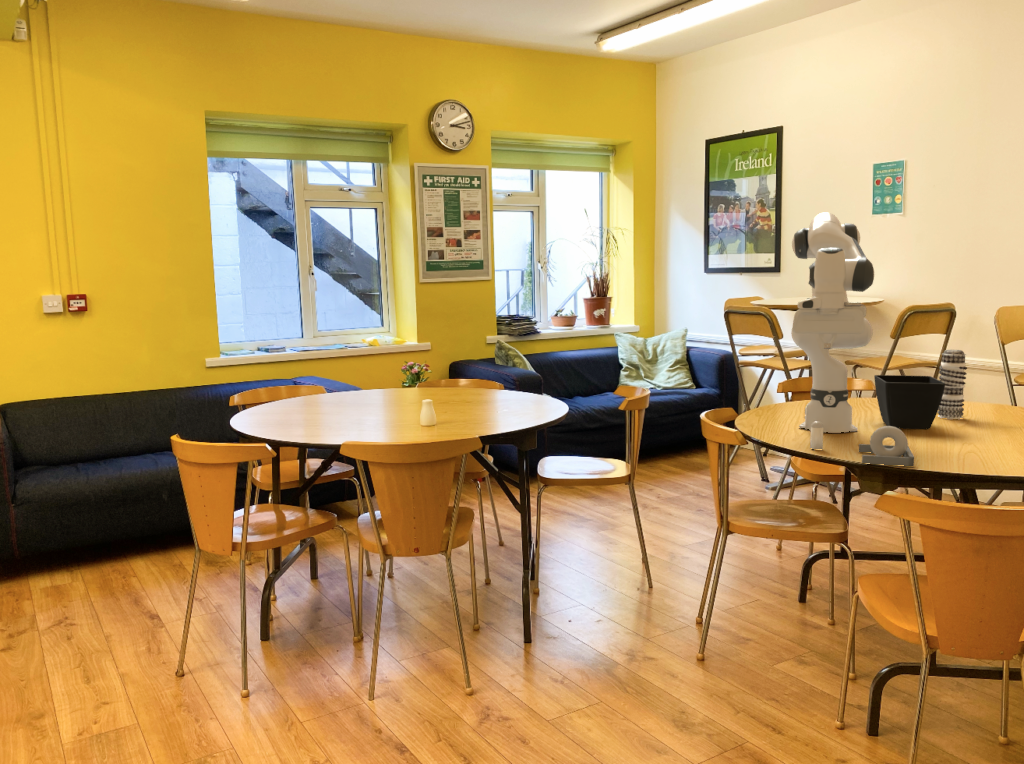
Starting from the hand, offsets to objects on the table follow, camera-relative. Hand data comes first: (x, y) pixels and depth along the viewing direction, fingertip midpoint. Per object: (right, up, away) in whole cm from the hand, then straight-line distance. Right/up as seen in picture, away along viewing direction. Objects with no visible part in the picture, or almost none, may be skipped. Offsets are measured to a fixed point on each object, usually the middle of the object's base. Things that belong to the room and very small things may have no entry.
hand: (827, 348), depth 250 cm
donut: (+14, -33, -10) cm, 37 cm away
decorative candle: (+67, -23, +58) cm, 92 cm away
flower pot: (+44, -26, +42) cm, 66 cm away
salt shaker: (-1, -31, +6) cm, 31 cm away
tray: (+13, -32, -9) cm, 36 cm away
